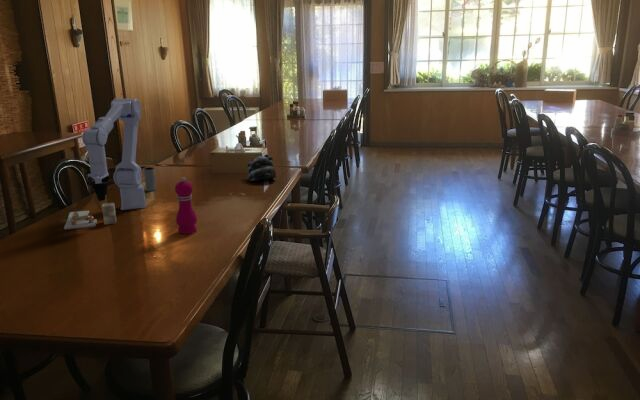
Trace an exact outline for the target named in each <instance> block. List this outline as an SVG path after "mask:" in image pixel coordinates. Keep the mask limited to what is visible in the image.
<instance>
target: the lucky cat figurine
mask: <svg viewBox="0 0 640 400" xmlns="http://www.w3.org/2000/svg"><path fill="white" fill-rule="evenodd" d="M246 166H247V172H248V176H247V178H248V179H247V180H248V182H249V181H253V182H255V181H261V180H260V179H263V180H271V179H270V178H274V179H275V178H277V172H276V169H275V168H274V158H273V156H269V155H268V154H264V155H263V156H262V155H260V156H257V157H255V158H252V159H251V161H249V162H248V163H247V164H246Z"/></svg>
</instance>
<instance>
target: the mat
mask: <svg viewBox="0 0 640 400" xmlns="http://www.w3.org/2000/svg"><path fill="white" fill-rule="evenodd" d="M74 212H75V211H70V212H69V214H68V217H67V219H68V218H72V216H73V213H74ZM76 212H77V213H78V216H79V217H80V216H89V213H90V210H79V211H76Z"/></svg>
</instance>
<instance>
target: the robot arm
mask: <svg viewBox="0 0 640 400" xmlns="http://www.w3.org/2000/svg"><path fill="white" fill-rule="evenodd" d="M141 118H142V104H141V103H140V101H139V99H138V98H116V97H115V98H113V100H112V101H111V102H110V109H109V110H108V111H107V113H106V115H105V116H101V117H99V118H98V120H97V121H96V122H95V123H94V124H93V125H92V126H91V128H90V129H89V128H88V129H86V130H85V131H84V132H83V133H82V138H81V140H82V142H83V144H84V147H85V149H86V151H87V155H88V161H89V167H90V168H89V169H90V173H88V174H87V178H90V177H91V178H92V179H93V180H94V181H91V182H90V186H91V188H92V189H93V191H94V192H95V195H96V198H97V200H98V201H99V202H102V201H105V200H106V196H107V195H108V185H109V184H108V183H109V179H110V176H111V175H110V174H109V171H108V163H107V157H106V155H107V154H106V149H105V145H106V144H107V141H108V138H109V137H108V136H109V134H110V133H111V132H112V130H113V129H114V123H115V122H116V121H117V120H118V119H119V120H120V121H122V122H123V123H124V126H123V127H124V129H123V143H122V154H121V162H119V163H118V164H117V165H115V171H114V173H113V175H112V176H113V177H112V178H113V181H114V183H115V185H117V187H118V188H119V191H120V192H119V193H120V199H121V205H120V210H121V211H125V210H134V209H135V210H137V209H145V208H146V203H147V198H146V197H145V195H146V194H145V189H144V188H145V187H144V184H142V181H143V174H142V168H141V166H140V165H139V164H137V163H136V160H137V159H136V157H137V146H138V145H137V144H138V131H139V121H141Z"/></svg>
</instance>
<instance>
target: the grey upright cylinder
mask: <svg viewBox="0 0 640 400" xmlns="http://www.w3.org/2000/svg"><path fill="white" fill-rule="evenodd" d="M143 173H144V183H145V190H146V192H155V191H157V182H156V173H155V167H152V166H151V167H149V166H148V167H144V168H143Z"/></svg>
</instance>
